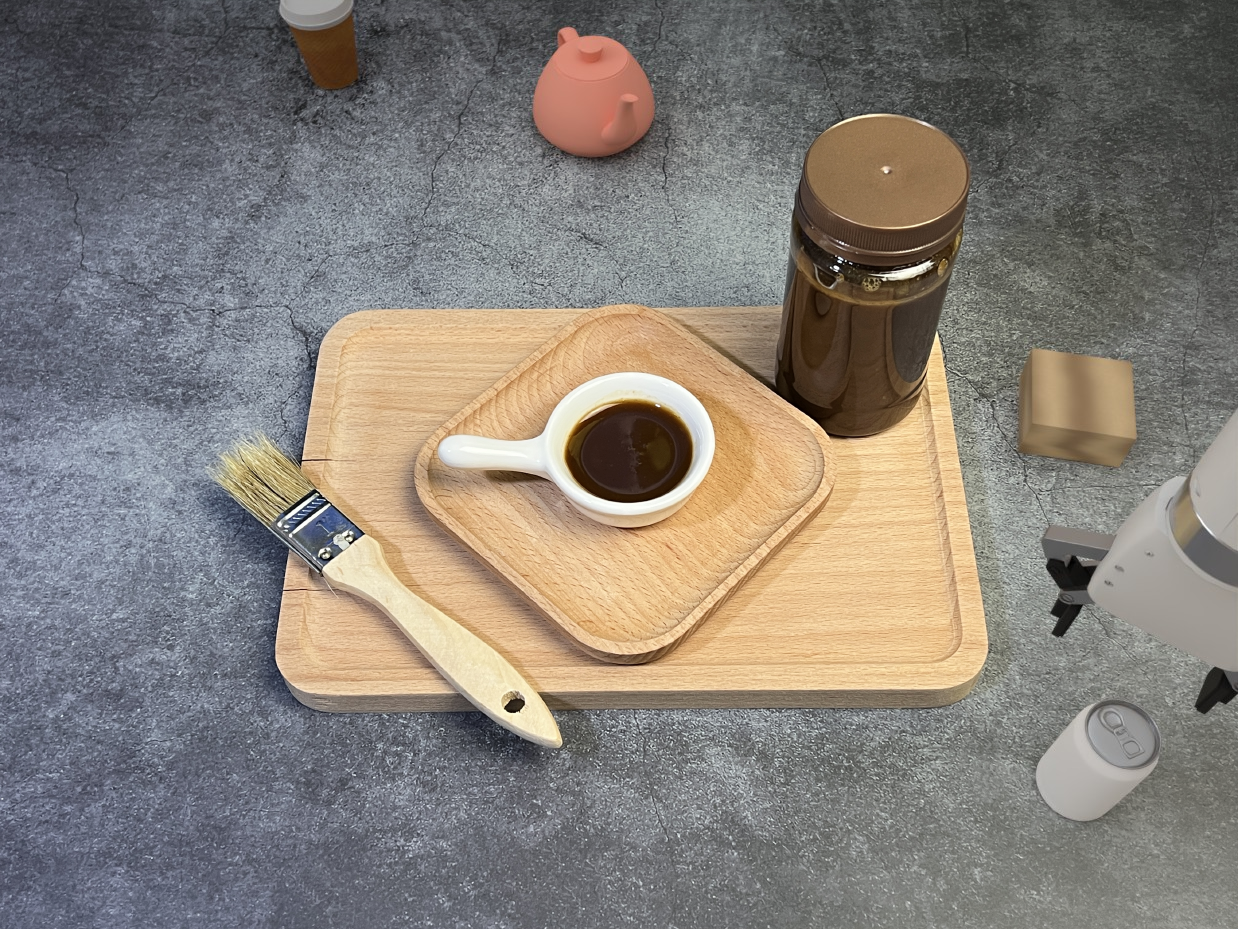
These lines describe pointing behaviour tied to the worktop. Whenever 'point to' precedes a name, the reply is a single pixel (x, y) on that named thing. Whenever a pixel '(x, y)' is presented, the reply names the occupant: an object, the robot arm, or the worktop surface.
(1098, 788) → the can
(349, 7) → the disposable coffee cup
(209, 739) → the worktop surface
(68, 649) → the worktop surface
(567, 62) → the teapot
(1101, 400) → the block
